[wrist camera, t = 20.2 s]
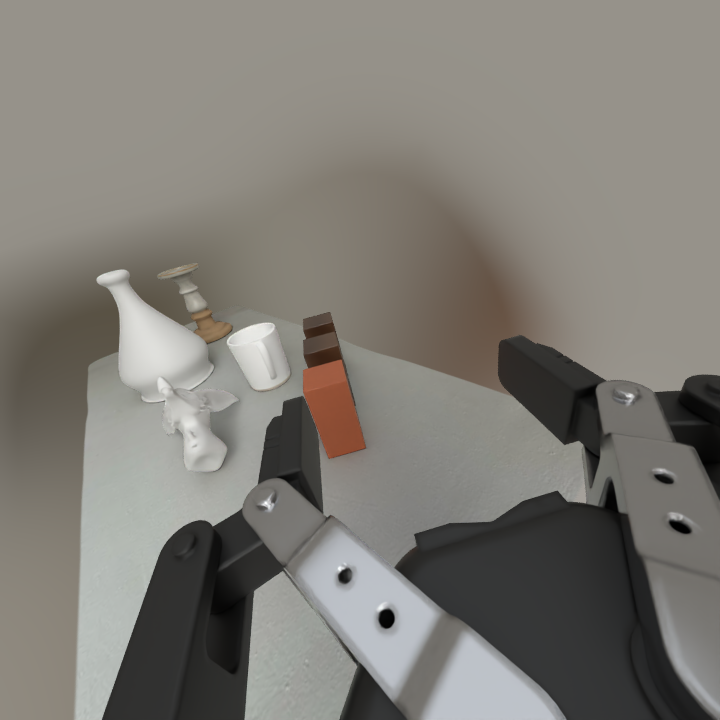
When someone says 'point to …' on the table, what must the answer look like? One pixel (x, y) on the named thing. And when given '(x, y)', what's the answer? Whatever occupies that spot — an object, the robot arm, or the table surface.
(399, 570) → the robot arm
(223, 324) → the candle holder
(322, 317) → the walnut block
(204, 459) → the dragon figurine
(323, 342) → the walnut block mid
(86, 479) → the table surface
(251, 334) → the mug
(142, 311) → the vase
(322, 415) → the terracotta block
